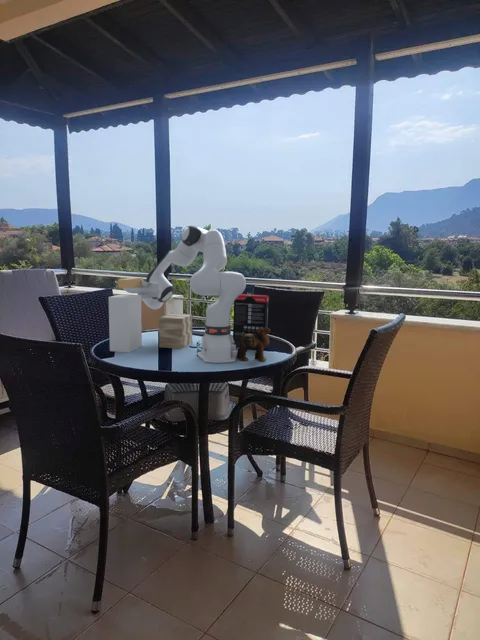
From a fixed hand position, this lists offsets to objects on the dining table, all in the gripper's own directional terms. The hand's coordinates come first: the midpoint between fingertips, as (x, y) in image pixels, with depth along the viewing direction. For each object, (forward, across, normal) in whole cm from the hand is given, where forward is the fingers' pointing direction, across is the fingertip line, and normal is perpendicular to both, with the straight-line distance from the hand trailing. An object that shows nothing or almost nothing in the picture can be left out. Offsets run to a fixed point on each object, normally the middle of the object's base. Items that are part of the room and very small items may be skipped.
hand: (136, 280), depth 223 cm
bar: (+4, 0, +5) cm, 6 cm away
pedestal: (-19, +20, +26) cm, 38 cm away
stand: (-5, 0, +34) cm, 35 cm away
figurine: (-2, +64, +37) cm, 74 cm away
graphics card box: (-23, +58, +25) cm, 67 cm away
